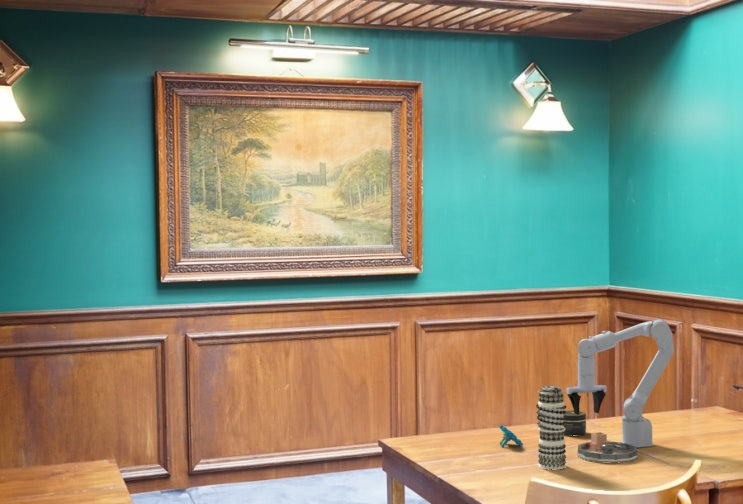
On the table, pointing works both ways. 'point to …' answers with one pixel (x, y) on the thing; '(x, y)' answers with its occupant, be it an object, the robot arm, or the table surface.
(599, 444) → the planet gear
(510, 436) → the blue t-shaped piece
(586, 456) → the plate
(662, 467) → the table surface
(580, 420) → the jar
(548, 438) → the decorative candle
